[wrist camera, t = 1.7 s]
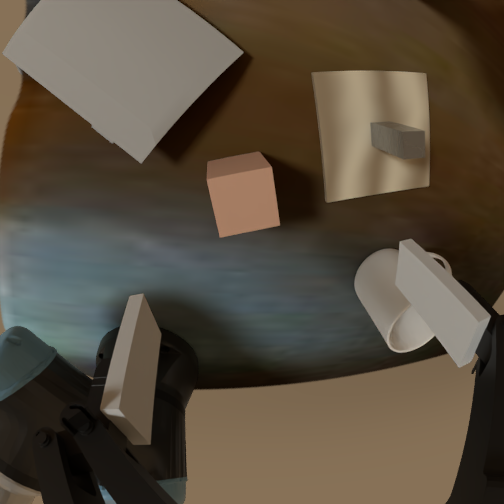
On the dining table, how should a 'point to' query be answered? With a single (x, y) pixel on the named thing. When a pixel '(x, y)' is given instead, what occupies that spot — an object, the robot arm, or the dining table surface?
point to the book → (122, 63)
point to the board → (369, 130)
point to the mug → (391, 301)
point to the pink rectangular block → (242, 193)
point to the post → (398, 139)
